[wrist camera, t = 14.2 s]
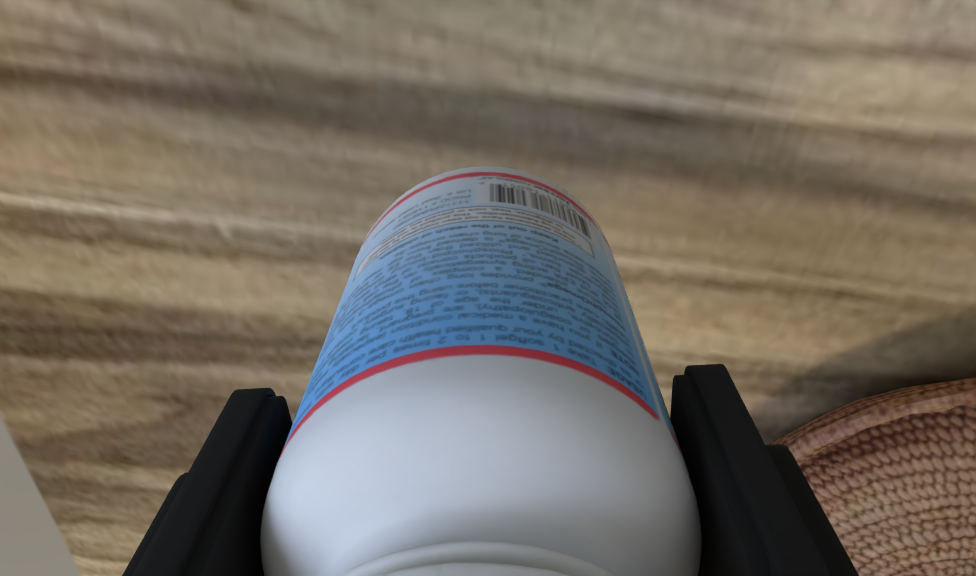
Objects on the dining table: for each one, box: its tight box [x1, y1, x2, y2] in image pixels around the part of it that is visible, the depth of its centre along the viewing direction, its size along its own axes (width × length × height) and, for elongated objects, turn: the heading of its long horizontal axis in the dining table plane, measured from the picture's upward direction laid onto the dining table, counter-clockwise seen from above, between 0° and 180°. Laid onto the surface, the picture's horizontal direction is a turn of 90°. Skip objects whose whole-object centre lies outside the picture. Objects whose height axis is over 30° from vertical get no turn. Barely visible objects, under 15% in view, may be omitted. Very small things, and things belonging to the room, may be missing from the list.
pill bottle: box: [260, 166, 702, 576], centre depth 12 cm, size 6×6×11 cm
